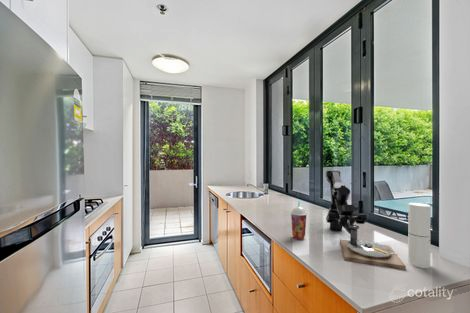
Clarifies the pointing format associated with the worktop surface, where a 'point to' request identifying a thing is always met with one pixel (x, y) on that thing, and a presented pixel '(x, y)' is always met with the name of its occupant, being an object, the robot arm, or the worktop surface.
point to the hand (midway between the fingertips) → (350, 233)
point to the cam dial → (366, 246)
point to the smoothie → (298, 222)
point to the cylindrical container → (419, 234)
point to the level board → (387, 262)
